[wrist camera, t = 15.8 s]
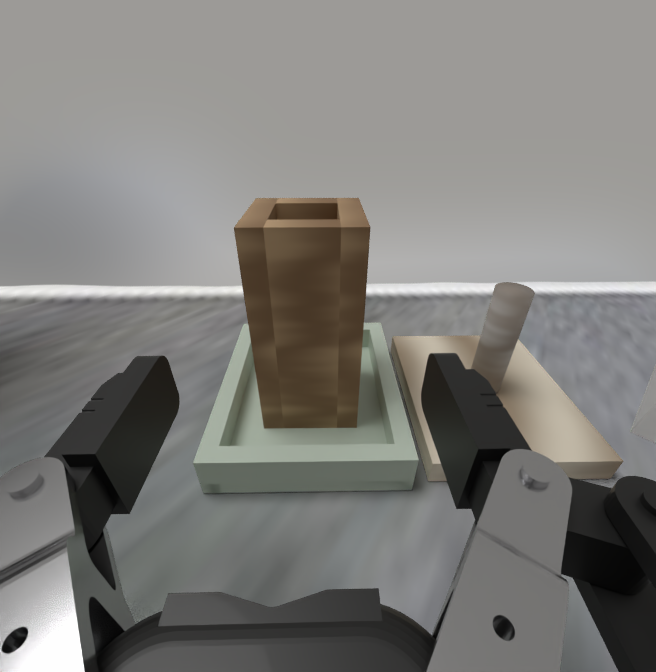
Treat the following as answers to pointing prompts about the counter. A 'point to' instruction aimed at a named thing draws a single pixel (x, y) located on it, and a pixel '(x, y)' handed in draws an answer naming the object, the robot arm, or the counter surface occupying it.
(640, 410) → the grater
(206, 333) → the counter surface
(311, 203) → the sleeve
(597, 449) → the stake board
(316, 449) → the tray
